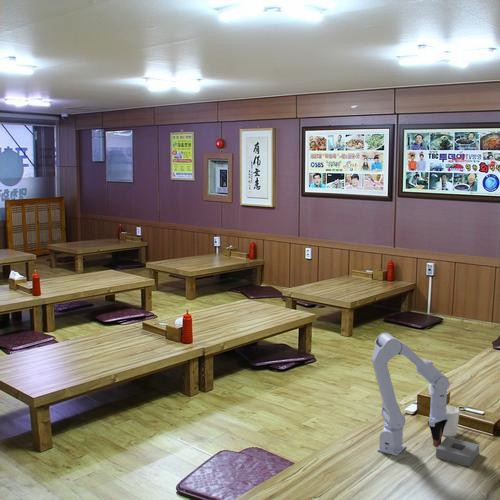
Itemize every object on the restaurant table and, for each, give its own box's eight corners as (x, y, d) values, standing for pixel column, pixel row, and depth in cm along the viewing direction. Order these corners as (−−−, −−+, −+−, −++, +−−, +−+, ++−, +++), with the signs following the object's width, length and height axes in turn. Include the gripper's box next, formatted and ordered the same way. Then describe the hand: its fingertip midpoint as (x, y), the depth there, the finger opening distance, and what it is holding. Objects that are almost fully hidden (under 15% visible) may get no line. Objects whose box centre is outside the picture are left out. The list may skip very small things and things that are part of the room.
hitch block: (469, 466, 215) (469, 457, 214) (436, 457, 222) (436, 448, 221) (478, 453, 224) (479, 444, 224) (446, 445, 231) (446, 436, 231)
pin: (439, 447, 229) (440, 427, 228) (431, 445, 231) (432, 425, 230) (442, 444, 232) (442, 424, 231) (434, 442, 234) (435, 423, 233)
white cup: (461, 432, 242) (462, 409, 241) (453, 439, 236) (453, 415, 235) (443, 427, 248) (443, 404, 246) (434, 433, 242) (434, 409, 241)
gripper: (442, 412, 221) (441, 447, 223) (455, 400, 233) (453, 433, 235) (423, 408, 225) (422, 442, 227) (436, 396, 237) (435, 429, 239)
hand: (437, 438), depth 231 cm, fingers closed on pin, 3 cm apart
